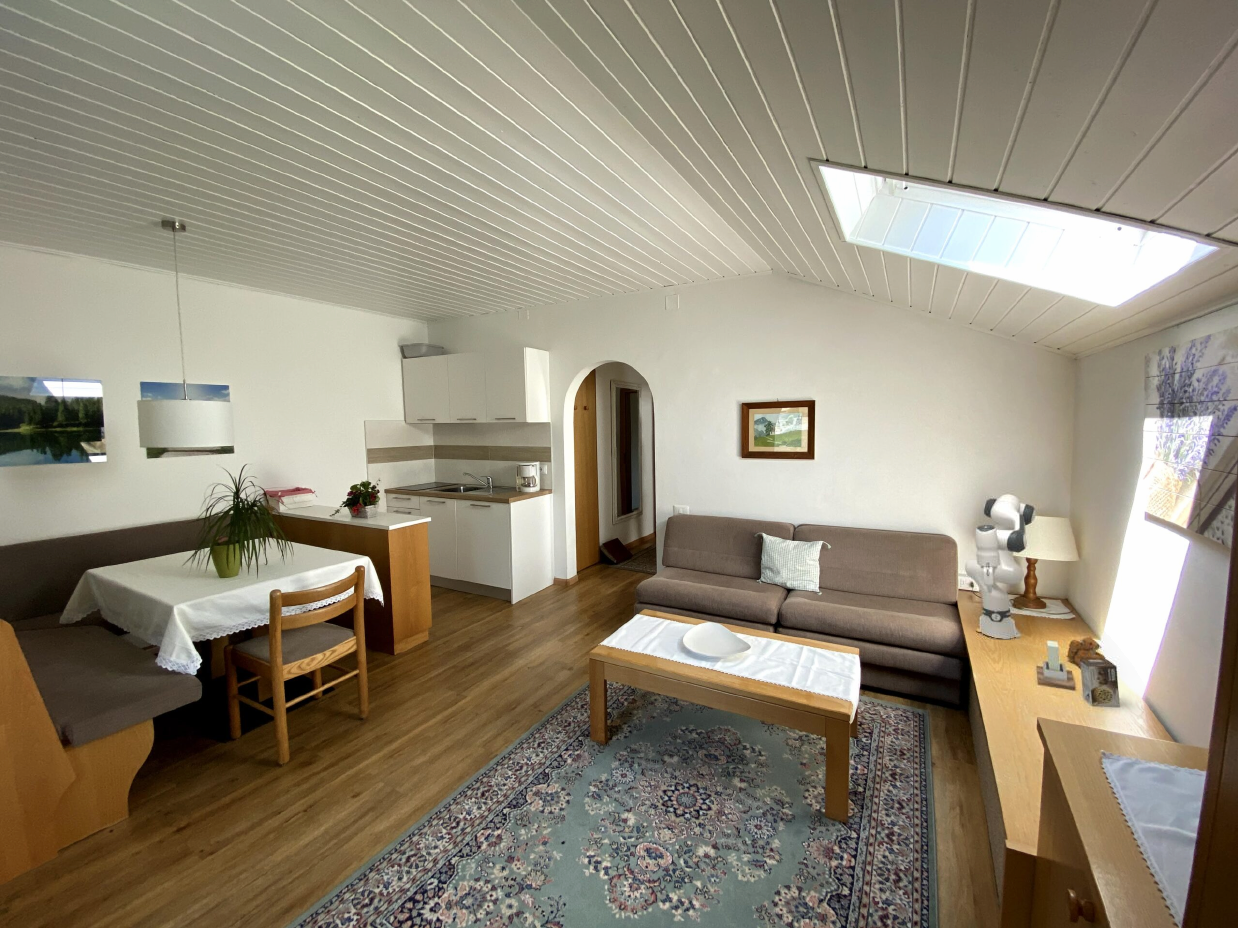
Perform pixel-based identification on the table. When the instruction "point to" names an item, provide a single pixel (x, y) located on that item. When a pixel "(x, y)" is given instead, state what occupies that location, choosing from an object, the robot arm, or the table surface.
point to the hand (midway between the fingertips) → (990, 589)
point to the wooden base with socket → (1055, 677)
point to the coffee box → (1099, 682)
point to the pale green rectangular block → (1053, 655)
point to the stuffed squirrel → (1083, 650)
